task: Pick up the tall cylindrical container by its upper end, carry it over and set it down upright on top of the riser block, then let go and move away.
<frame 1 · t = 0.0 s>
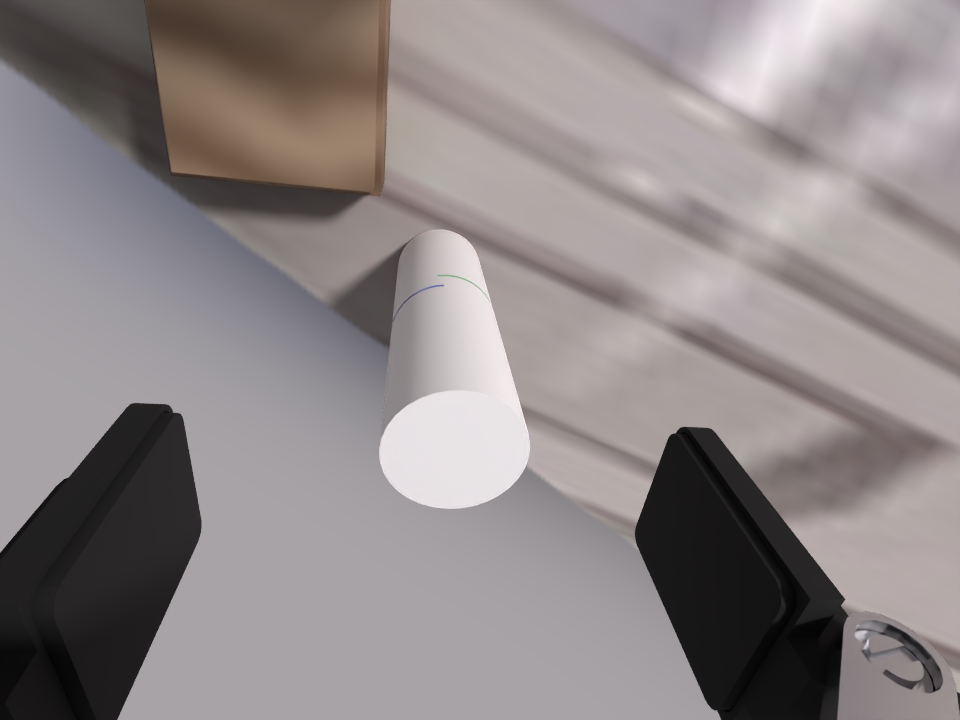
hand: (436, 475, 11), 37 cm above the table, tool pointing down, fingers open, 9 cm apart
riser: (288, 55, 38), on the table
cylindrical container: (439, 268, 47), on the table
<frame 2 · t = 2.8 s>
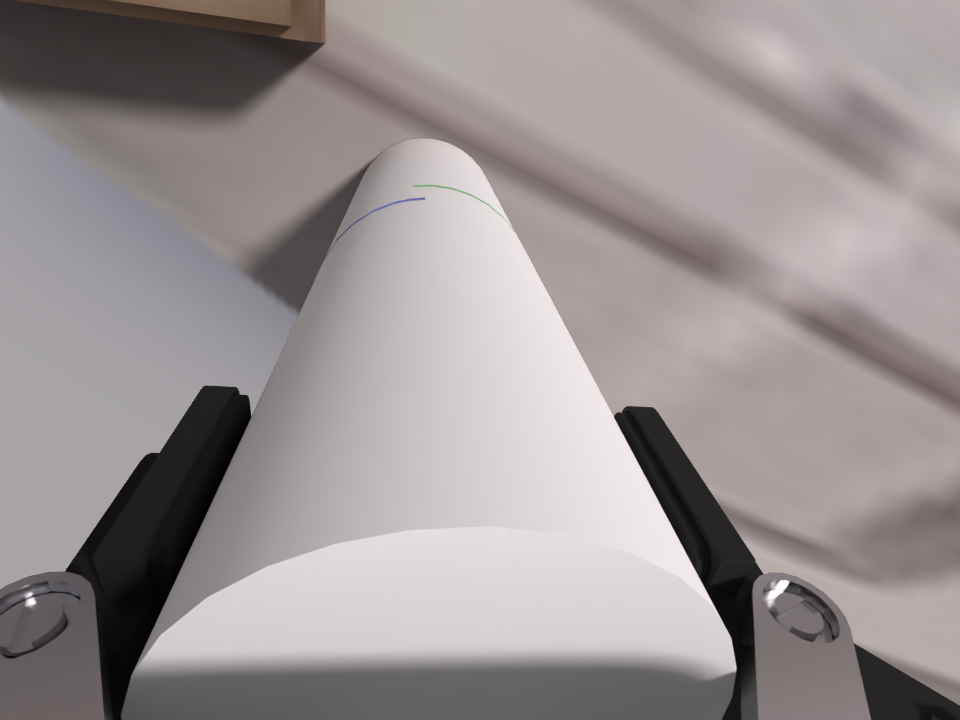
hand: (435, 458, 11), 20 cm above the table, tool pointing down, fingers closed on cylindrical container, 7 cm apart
cylindrical container: (425, 210, 28), on the table, touching gripper
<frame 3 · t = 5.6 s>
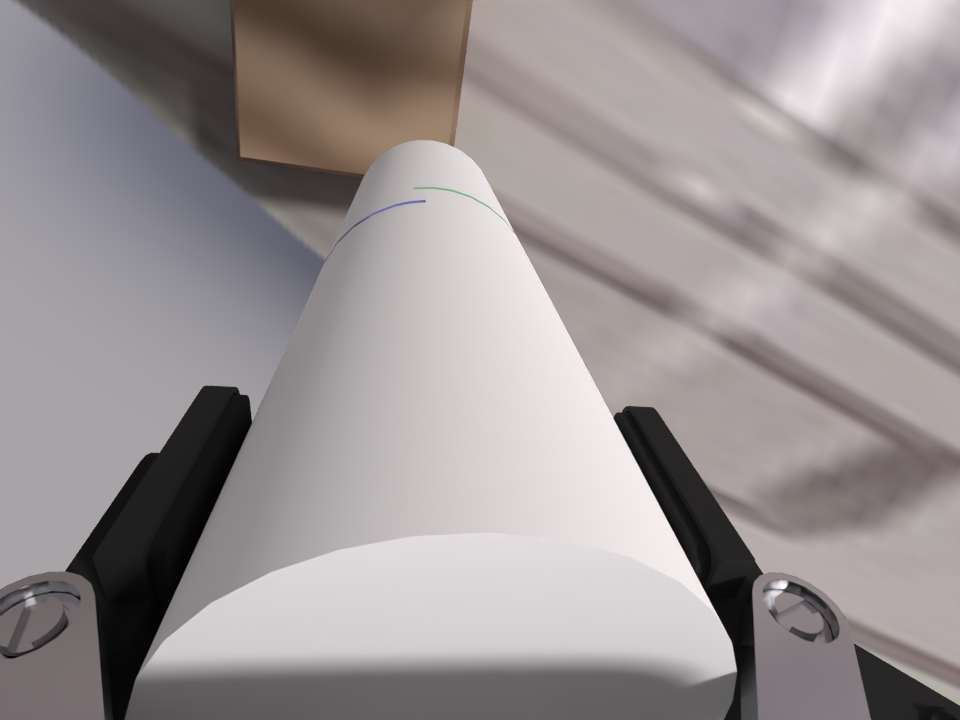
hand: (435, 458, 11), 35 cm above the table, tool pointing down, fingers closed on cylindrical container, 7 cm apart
riser: (359, 44, 37), on the table
cylindrical container: (426, 211, 28), point 15 cm above the table, touching gripper
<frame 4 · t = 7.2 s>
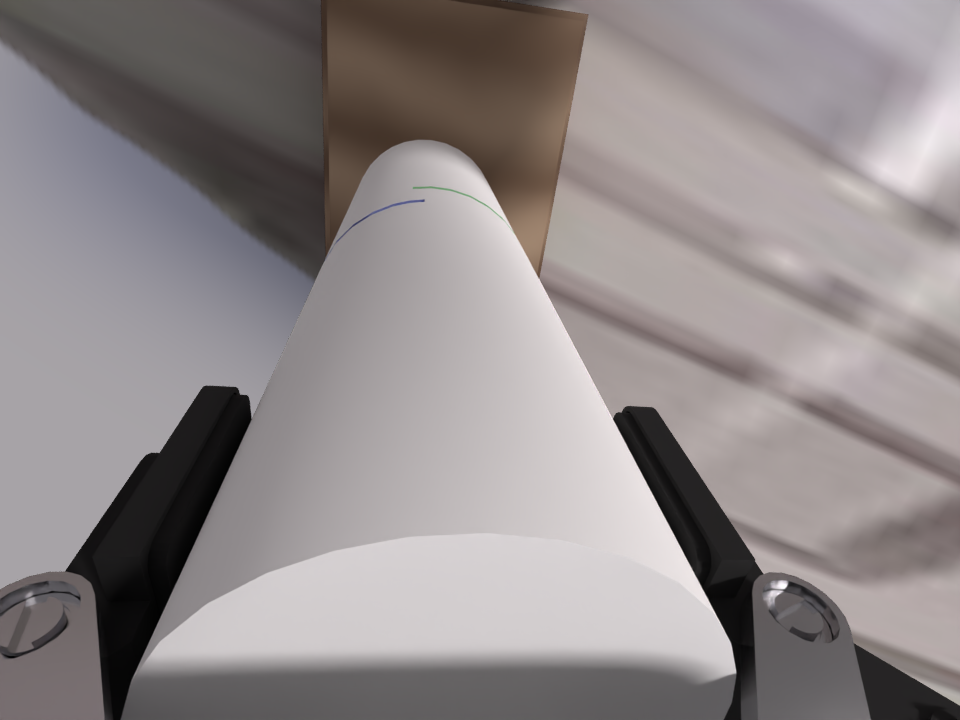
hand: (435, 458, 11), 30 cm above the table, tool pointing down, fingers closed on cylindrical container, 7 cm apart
riser: (442, 143, 36), on the table
cylindrical container: (425, 211, 28), point 10 cm above the table, touching gripper
when the fingers open (27 cm above the table, at t = 8.4 s): cylindrical container stays where it is, resting on riser.
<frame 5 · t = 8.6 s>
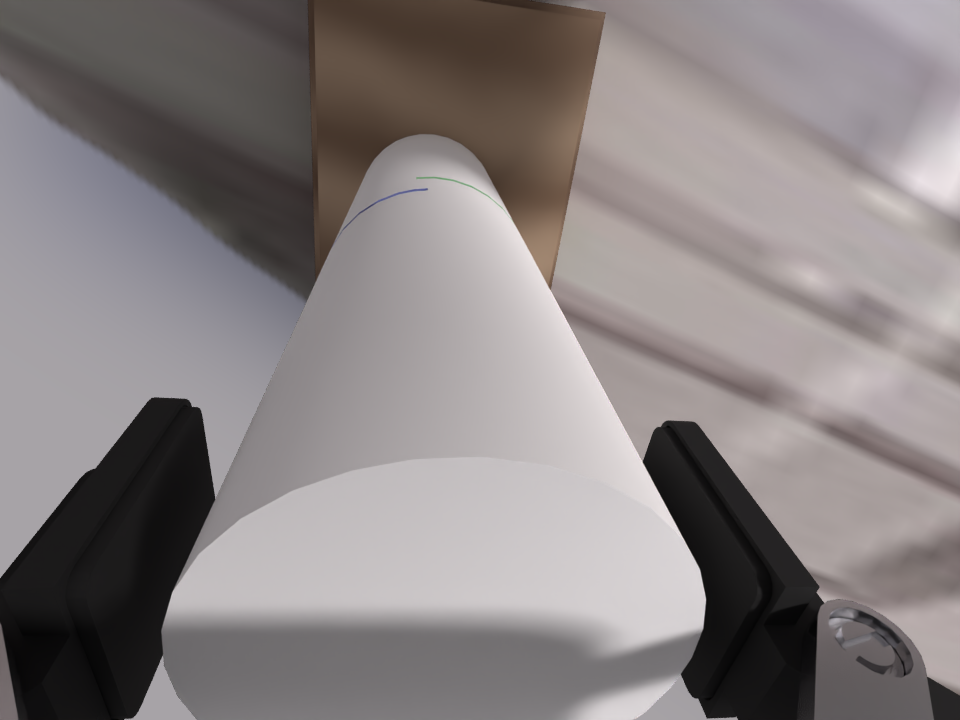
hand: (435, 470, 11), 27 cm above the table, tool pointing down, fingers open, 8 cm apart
riser: (442, 153, 33), on the table
cylindrical container: (428, 204, 29), point 6 cm above the table, touching riser
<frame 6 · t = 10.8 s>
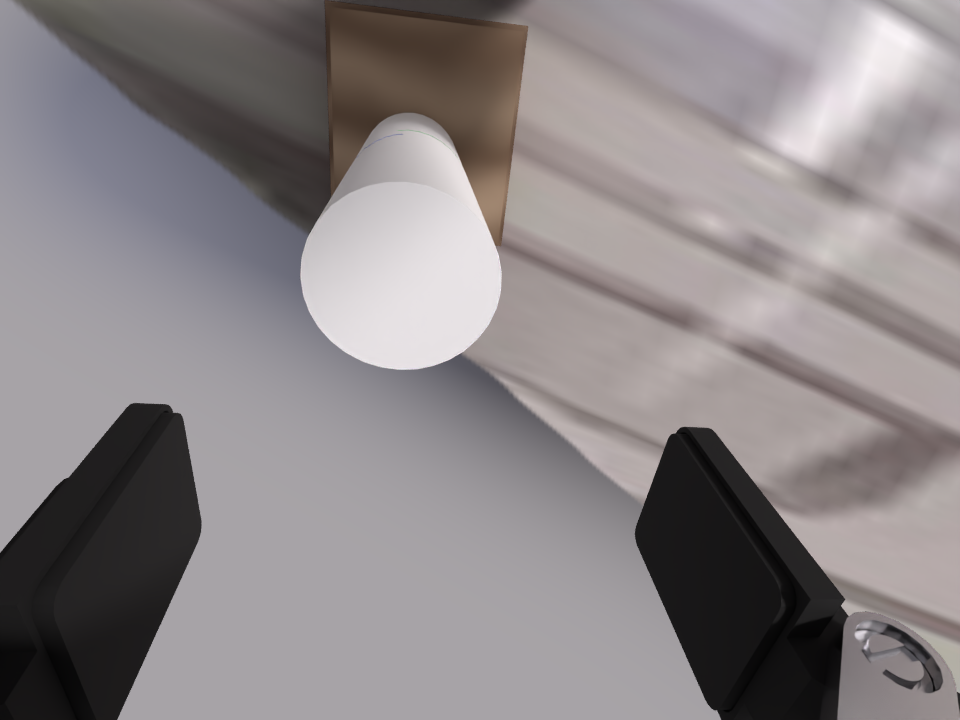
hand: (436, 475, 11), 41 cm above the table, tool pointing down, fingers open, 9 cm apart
riser: (422, 129, 45), on the table
cylindrical container: (410, 163, 41), point 6 cm above the table, touching riser
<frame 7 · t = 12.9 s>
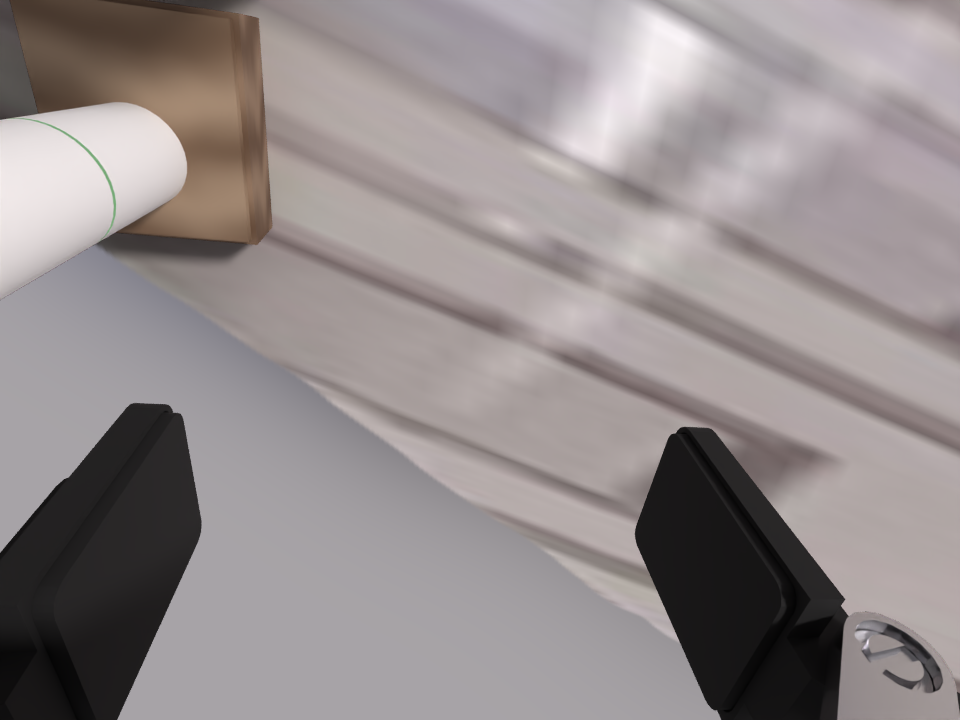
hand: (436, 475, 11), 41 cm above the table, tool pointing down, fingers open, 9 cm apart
riser: (175, 121, 43), on the table
cylindrical container: (135, 155, 39), point 6 cm above the table, touching riser
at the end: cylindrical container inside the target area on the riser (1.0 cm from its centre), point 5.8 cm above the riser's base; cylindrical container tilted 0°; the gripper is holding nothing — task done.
